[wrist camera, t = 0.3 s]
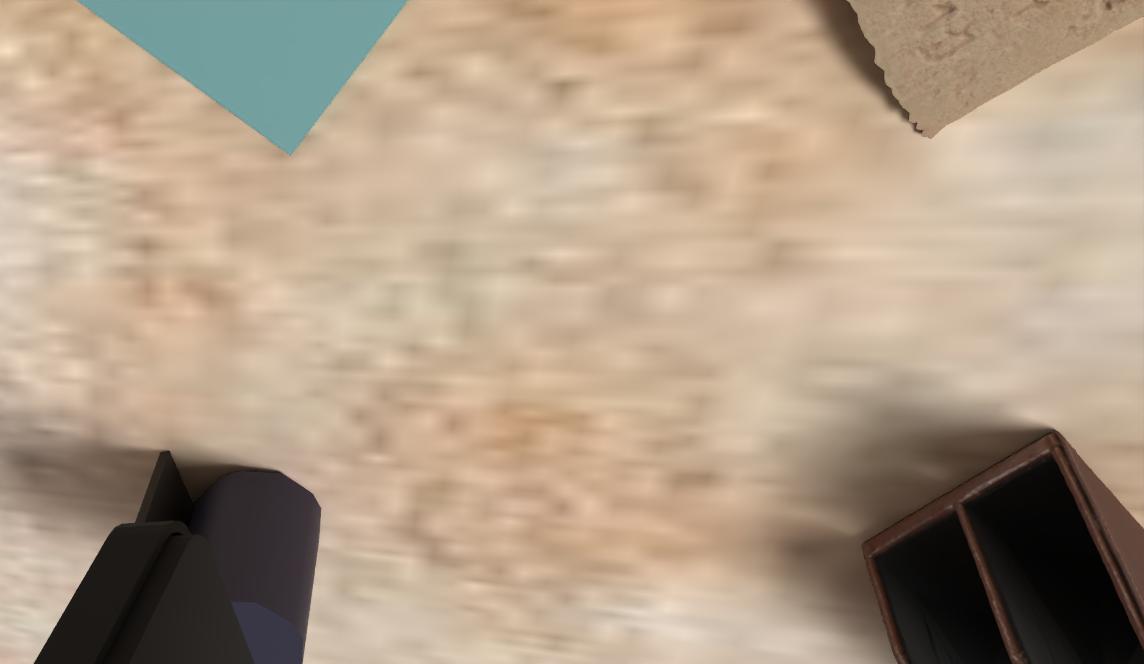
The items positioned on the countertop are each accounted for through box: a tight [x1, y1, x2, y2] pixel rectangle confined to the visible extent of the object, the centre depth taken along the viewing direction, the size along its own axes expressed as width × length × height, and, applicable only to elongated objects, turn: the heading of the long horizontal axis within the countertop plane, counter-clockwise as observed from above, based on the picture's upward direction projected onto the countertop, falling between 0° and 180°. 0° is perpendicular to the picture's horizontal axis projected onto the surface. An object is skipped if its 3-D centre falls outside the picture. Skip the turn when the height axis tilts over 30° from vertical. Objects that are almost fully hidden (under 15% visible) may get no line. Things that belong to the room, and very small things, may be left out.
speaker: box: [135, 451, 321, 664], centre depth 46 cm, size 8×6×10 cm
